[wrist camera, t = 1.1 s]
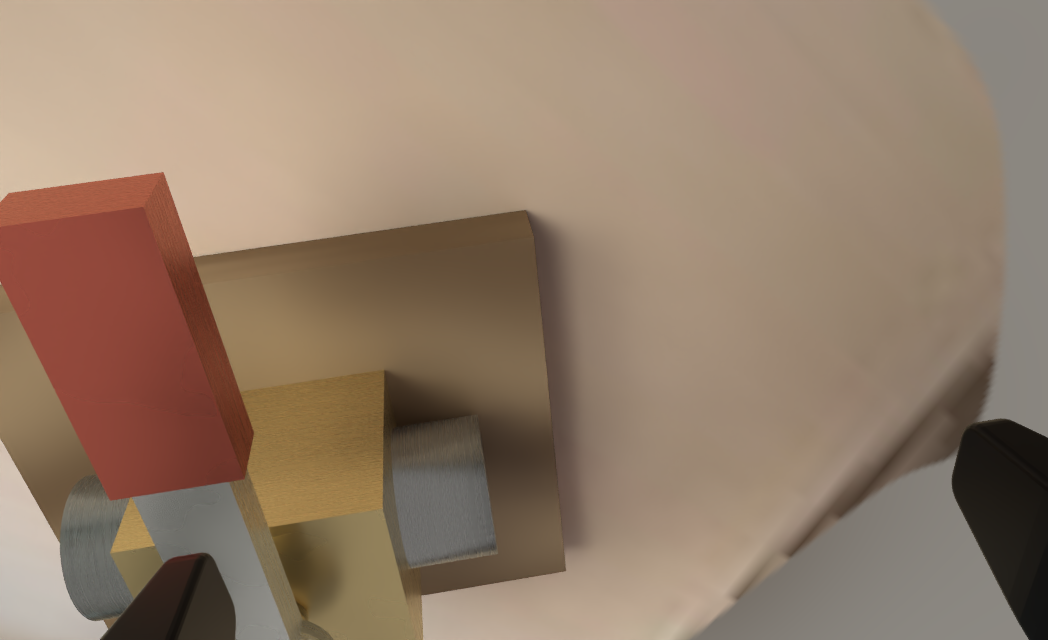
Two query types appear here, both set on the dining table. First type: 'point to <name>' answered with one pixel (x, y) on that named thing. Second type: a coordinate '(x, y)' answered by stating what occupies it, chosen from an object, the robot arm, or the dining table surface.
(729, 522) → the dining table surface
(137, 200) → the valve lever
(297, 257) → the valve board
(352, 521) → the ball valve
